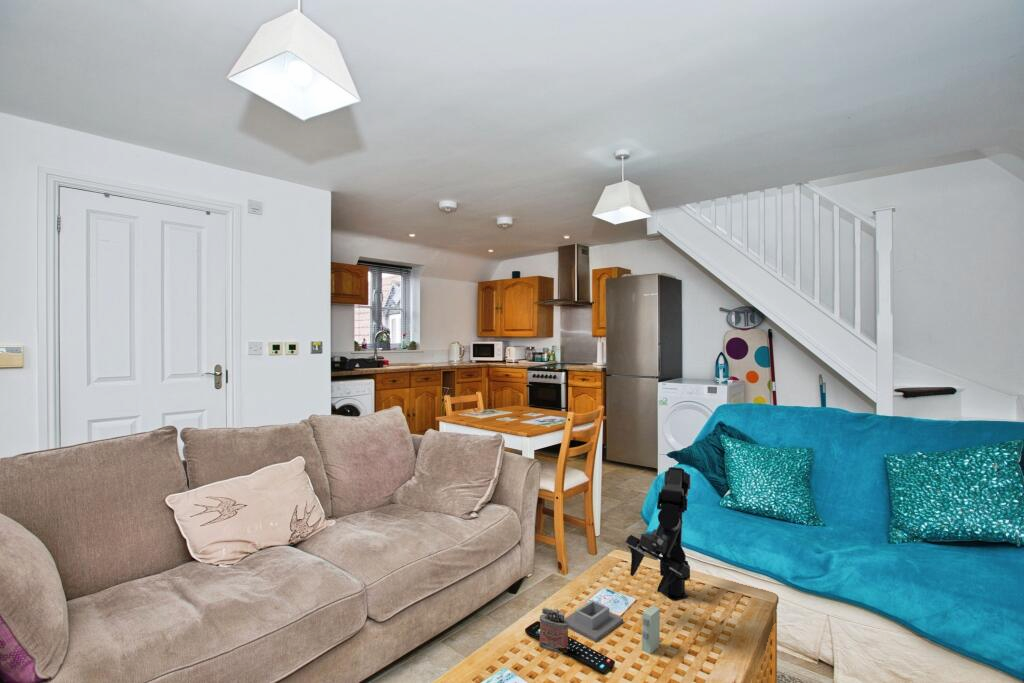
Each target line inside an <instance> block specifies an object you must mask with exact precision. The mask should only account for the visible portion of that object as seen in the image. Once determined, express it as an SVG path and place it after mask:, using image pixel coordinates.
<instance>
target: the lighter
mask: <svg viewBox="0 0 1024 683" xmlns="http://www.w3.org/2000/svg"><path fill="white" fill-rule="evenodd" d="M541 613H542V614H541V615H539V622H540V624H539V625H540V626H539V642H538V644H539V647H540V648H541V649H543V650H546V651H549V652H552V653H555V654H556V653H557V654H561V653H560V651H559V650H558V648H566V647H567V646H568V647H569V628H568V626H569V621H567V620H565V619H564V618H566V617H565V612H562V611H559V609H557V608H554V609H552V608H548V607H545V606H544V607H543V608H541Z"/></svg>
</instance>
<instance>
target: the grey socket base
mask: <svg viewBox="0 0 1024 683" xmlns="http://www.w3.org/2000/svg"><path fill="white" fill-rule="evenodd" d="M564 619H565V620H567V621H569V626H568V630H571V631H573V632H574V633H575V632H576V634H579V635H581V636H583V637H585V638H587V639H588V640H590V641H592V642H594V643H596V642H598V641H599V640H601V639H602V638H603V637H605V636H607V634H609V633H610V632H612V630H614V629H616V628H617V627H618V626H619V625H621V624H623V623H624V618H623V617H620V616H619V615H616V614H614V613H612V612H610V606H607V605H604V604H602V603H599V602H597V601H596V600H593V599H592V600H590V601H589V602H587V603H585V604H584V605H582V606H581V607H579V608H577V609H576V610H575V611H574V612H573V613H570V614H569V615H568V616H566V617H564Z"/></svg>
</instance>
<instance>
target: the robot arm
mask: <svg viewBox="0 0 1024 683" xmlns="http://www.w3.org/2000/svg"><path fill="white" fill-rule="evenodd" d="M663 482H664V483H663V484H664V485H662V486H661V491H659V492H658V497H657V501H656V502H657V503H656V509H657V510H659V512H658V514H657V520H658V526H657V528H656V529H655V528H654V529H653V530H652V532H651V533H641V534H640V538H638V537H636V536H634V535H633V534H630V535H629V536H627V538H626V540H625V543H626V544H628V545H627V547H628V548H629V550H630V554H631V562H630V563H631V564H630V576H632V577H634V576H635V575H636V572H637V571H638V569H639V567H640V564H641V563H642V561H643V559H644V558H645V554H644V552H645V553H646V554H648V555H650V556H652V557H654V558H656V559H658V560H659V569H660V570H659V574H660V575H659V576H661V577H662V578H661V580H660V581H659V582H660V583H659V584H658V586H657V589H656V592H657V593H661V594H662V595H664V596H666V598H669V599H670V600H672V601H677V600H681V599H685V598H689V594H688V593H686V592H685V591H686V581H688V580H690V579H691V566H690V565H689V561H688V560H687V558H686V553H685V551H684V549H683V547H682V539H683V538H682V537H683V514H685V513H686V512H687V511H688V504H689V503H688V500H689V499H688V495H689V490H691V475H690V474H689V473H687V471H685V468H683V467H675V466H670V467H668V470H666V471H665V472H664V480H663Z"/></svg>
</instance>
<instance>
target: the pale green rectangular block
mask: <svg viewBox="0 0 1024 683" xmlns="http://www.w3.org/2000/svg"><path fill="white" fill-rule="evenodd" d="M641 614H642V617H641V618H642V619H641V620H642V622H641V624H642V625H641V627H642V628H641V629H642V630H641V651H642V652H645V653H647V654H648V655H651V654H653V653H654V651H655V650H657V649H658V648H659V647H660V628H661V627H660V624H661V622H660V621H661V619H660V617H661V609H660V608H659V607H656V606H654V605H650V606H649V607H647V608H646V609H644V610H643V611H642V612H641Z"/></svg>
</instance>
